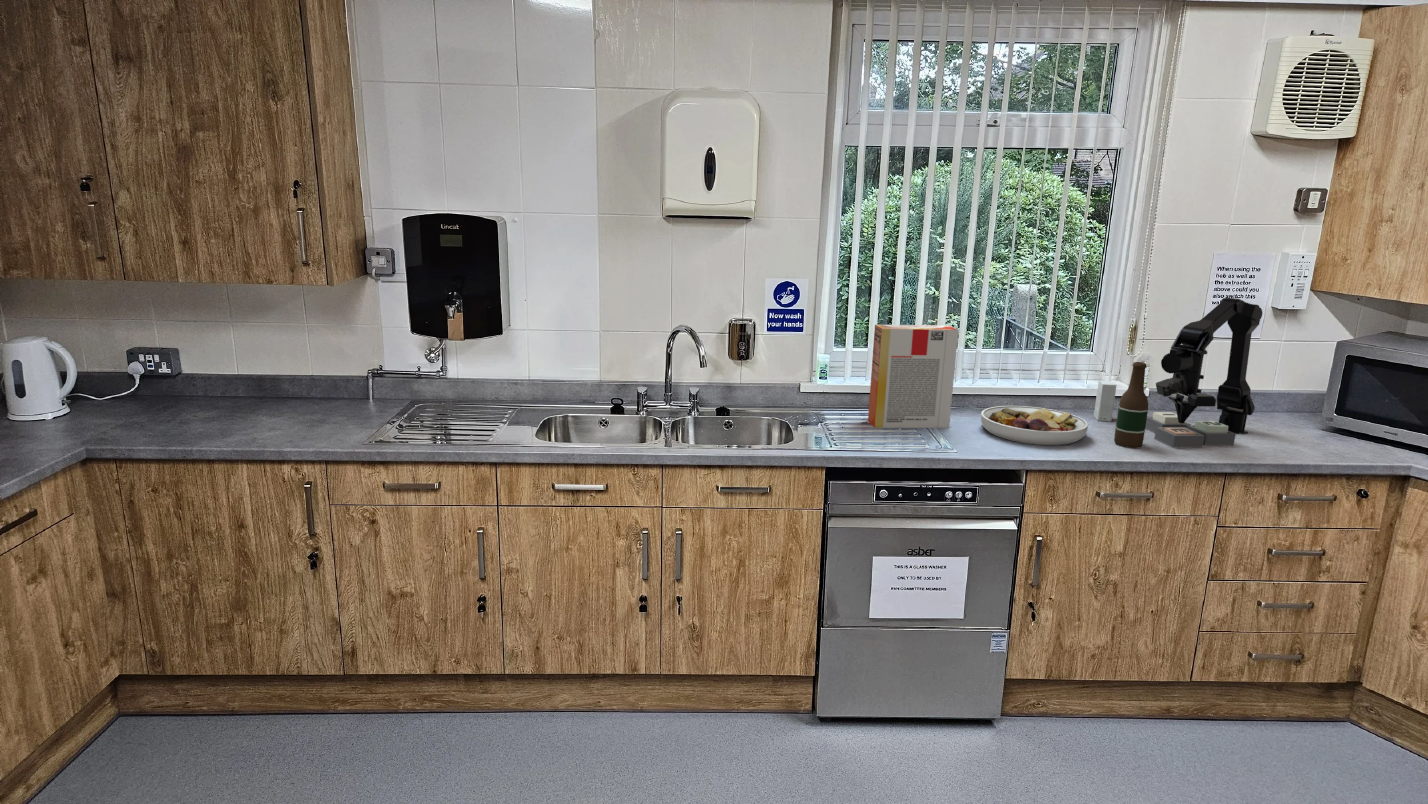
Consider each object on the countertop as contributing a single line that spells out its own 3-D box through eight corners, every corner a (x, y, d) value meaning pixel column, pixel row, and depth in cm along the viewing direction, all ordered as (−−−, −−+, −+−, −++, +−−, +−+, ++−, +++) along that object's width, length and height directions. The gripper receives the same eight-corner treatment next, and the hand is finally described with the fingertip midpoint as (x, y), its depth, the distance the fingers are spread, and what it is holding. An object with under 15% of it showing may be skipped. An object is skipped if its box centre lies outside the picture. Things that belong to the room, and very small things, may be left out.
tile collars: (1192, 427, 266) (1193, 416, 265) (1238, 447, 246) (1240, 435, 245) (1131, 427, 264) (1132, 416, 263) (1172, 447, 244) (1174, 435, 243)
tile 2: (1213, 428, 254) (1214, 420, 253) (1227, 434, 248) (1228, 425, 248) (1194, 428, 253) (1195, 420, 253) (1207, 434, 248) (1209, 425, 247)
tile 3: (1182, 435, 251) (1183, 427, 251) (1195, 441, 246) (1196, 432, 245) (1162, 435, 251) (1164, 427, 250) (1175, 441, 245) (1176, 432, 244)
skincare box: (1111, 421, 271) (1117, 385, 268) (1097, 420, 271) (1102, 384, 268) (1107, 417, 276) (1112, 381, 273) (1093, 416, 277) (1098, 380, 274)
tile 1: (1170, 419, 263) (1172, 411, 262) (1182, 425, 257) (1184, 416, 257) (1152, 419, 262) (1153, 411, 262) (1164, 425, 257) (1165, 416, 256)
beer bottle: (1107, 440, 249) (1119, 360, 244) (1133, 440, 250) (1145, 360, 244) (1122, 448, 242) (1134, 365, 236) (1148, 448, 243) (1161, 365, 237)
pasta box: (940, 420, 266) (949, 325, 259) (948, 427, 259) (958, 329, 251) (867, 420, 265) (874, 324, 257) (874, 427, 257) (882, 328, 250)
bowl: (975, 417, 273) (977, 393, 271) (1075, 425, 267) (1078, 400, 265) (984, 443, 244) (987, 417, 242) (1096, 452, 238) (1099, 425, 236)
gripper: (1143, 363, 251) (1136, 414, 255) (1183, 377, 233) (1174, 432, 237) (1179, 363, 253) (1171, 414, 256) (1221, 377, 235) (1212, 432, 238)
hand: (1180, 423), depth 247 cm, fingers closed
